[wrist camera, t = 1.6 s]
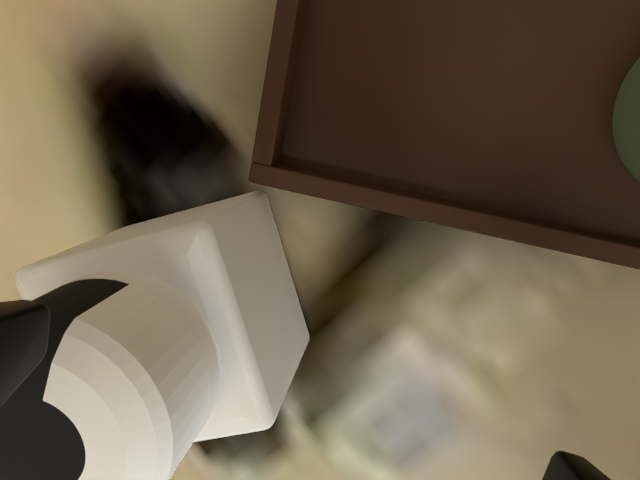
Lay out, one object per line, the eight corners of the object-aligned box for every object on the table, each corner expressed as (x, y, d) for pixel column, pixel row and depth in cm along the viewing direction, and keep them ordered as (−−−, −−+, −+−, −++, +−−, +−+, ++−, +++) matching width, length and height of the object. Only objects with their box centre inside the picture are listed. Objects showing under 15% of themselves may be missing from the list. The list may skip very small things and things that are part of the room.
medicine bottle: (172, 367, 25) (-28, 586, 13) (121, 227, 24) (-150, 334, 12) (313, 339, 23) (223, 558, 12) (266, 187, 22) (116, 267, 11)
